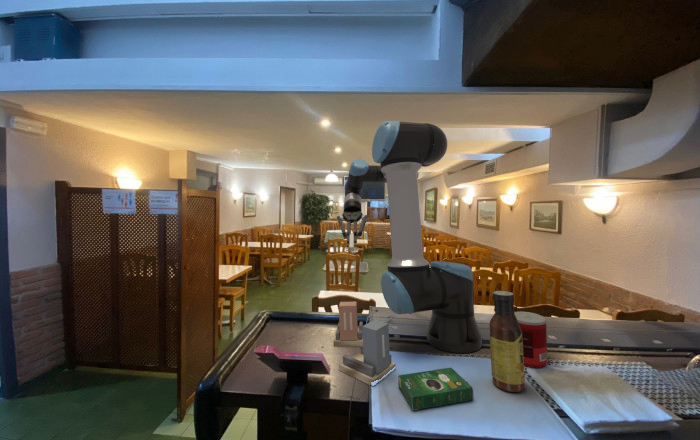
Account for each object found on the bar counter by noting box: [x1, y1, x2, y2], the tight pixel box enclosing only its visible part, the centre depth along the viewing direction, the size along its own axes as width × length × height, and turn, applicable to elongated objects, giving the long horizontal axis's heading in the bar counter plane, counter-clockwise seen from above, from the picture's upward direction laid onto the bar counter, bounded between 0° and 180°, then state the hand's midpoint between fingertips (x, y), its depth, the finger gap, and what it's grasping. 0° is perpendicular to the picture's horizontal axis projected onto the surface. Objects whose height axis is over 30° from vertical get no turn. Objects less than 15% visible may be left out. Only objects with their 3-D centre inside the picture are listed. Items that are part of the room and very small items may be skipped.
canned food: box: [514, 311, 548, 369], centre depth 68 cm, size 8×8×11 cm
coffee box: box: [397, 367, 475, 411], centre depth 57 cm, size 8×3×13 cm
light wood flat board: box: [333, 321, 397, 386], centre depth 76 cm, size 13×32×4 cm, turn 15°
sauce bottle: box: [489, 290, 526, 393], centre depth 59 cm, size 7×6×20 cm
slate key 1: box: [362, 319, 391, 374], centre depth 65 cm, size 4×5×10 cm
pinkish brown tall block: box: [338, 301, 359, 340], centre depth 82 cm, size 4×5×10 cm
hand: (351, 249), depth 100 cm, fingers closed
